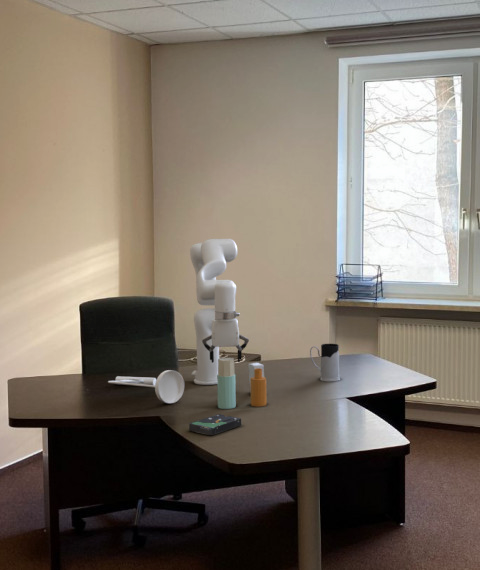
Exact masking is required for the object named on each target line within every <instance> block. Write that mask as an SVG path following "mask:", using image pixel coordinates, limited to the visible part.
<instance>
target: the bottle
mask: <svg viewBox="0 0 480 570" xmlns="http://www.w3.org/2000/svg"><path fill="white" fill-rule="evenodd" d="M216 385H217V386H216V387H217V391H216V392H217V408H218V409H221V410H231V409H234V408H236V406H237V399H236V396H237V395H236V393H237V392H236V391H237V390H236V373H234V376H229V377H222V376H218V375H217V384H216Z"/></svg>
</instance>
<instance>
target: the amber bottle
mask: <svg viewBox="0 0 480 570" xmlns="http://www.w3.org/2000/svg"><path fill="white" fill-rule="evenodd" d="M250 383H251V393H250V406H252V407H257V408H258V407H264V406H267V378H266V377H265V376H264V377H262V369H260V368H257V369H254V377H252V378H250ZM250 383H249V384H250Z"/></svg>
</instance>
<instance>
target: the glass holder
mask: <svg viewBox="0 0 480 570" xmlns="http://www.w3.org/2000/svg"><path fill="white" fill-rule="evenodd" d="M339 347H340V346H339V344H337V343H322V344H321V346H320V348H319V347H317V346H312V347H310V349H309V357H310V360H311V362H312V364H313V365H314V366H315V367H316V368H317V370H319V372H320V378H319V380H320V381H322V382H338V381H341V377H340V351H339V349H340V348H339ZM314 348H315V349H316V350H317V355H318V357H320V367H319V366H318V365H317V364H316V362H315V361H314V359H313V356H312V349H314Z"/></svg>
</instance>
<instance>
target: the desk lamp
mask: <svg viewBox="0 0 480 570" xmlns="http://www.w3.org/2000/svg"><path fill="white" fill-rule="evenodd" d="M107 383H108V384H114V385H118V386H119V385H120V386H134V387H135V386H136V387H146V388H154V392H155V395H156V397H157V399H158V400H159V401H161V402H162V403H165V404H175V403H176V402H178V401H179V400H180V399H182V396H183V394H184V391H185V380H184V378H183V375H182V374H181V373H180V372H178V371H177V370H173V369H172V370H171V369H170V370H169V369H168V370H164V371H162V372H160V374H159V375H158V376H157V378H156V377H144V376H143V377H142V376H119V375H117V376H116V377H115V380H108V381H107Z"/></svg>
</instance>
